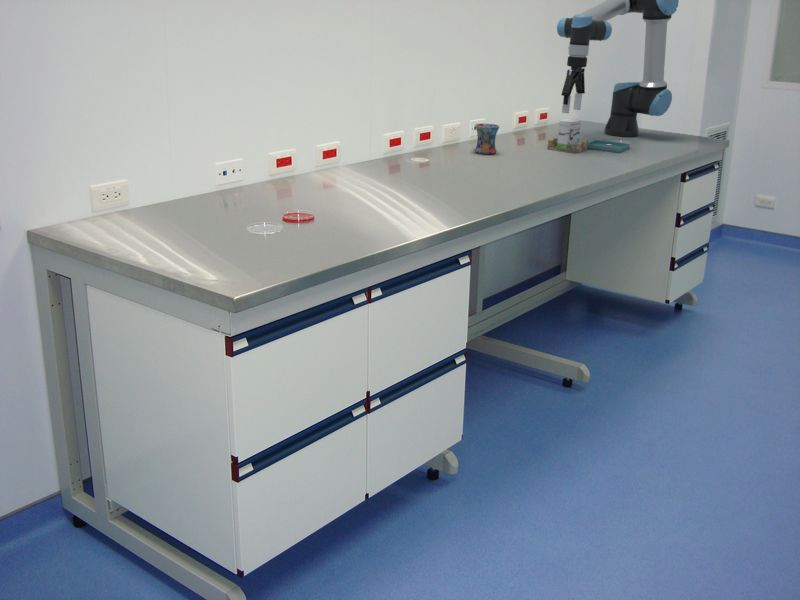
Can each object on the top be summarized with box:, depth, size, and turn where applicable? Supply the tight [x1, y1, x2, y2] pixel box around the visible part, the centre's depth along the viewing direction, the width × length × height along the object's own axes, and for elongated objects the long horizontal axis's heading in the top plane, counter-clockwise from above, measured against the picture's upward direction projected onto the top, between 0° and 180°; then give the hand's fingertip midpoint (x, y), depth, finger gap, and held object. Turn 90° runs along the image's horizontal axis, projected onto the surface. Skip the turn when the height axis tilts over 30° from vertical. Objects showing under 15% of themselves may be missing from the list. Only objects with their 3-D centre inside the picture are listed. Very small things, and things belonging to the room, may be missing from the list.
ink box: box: [556, 118, 582, 150], centre depth 340 cm, size 9×5×12 cm, turn 135°
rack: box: [547, 136, 589, 154], centre depth 341 cm, size 13×13×4 cm
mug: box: [474, 123, 500, 155], centre depth 326 cm, size 12×9×11 cm
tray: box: [586, 139, 631, 154], centre depth 348 cm, size 14×15×2 cm
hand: (571, 111), depth 336 cm, fingers open, 13 cm apart
